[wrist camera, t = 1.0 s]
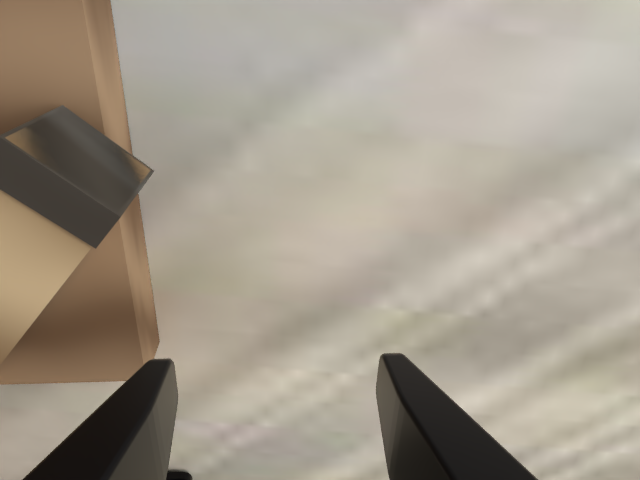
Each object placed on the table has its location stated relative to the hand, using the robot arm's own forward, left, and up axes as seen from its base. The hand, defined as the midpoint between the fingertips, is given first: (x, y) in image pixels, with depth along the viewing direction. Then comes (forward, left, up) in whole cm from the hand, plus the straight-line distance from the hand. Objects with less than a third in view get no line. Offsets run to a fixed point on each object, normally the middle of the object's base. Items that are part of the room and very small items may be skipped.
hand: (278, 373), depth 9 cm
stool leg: (-3, +10, -8) cm, 13 cm away
